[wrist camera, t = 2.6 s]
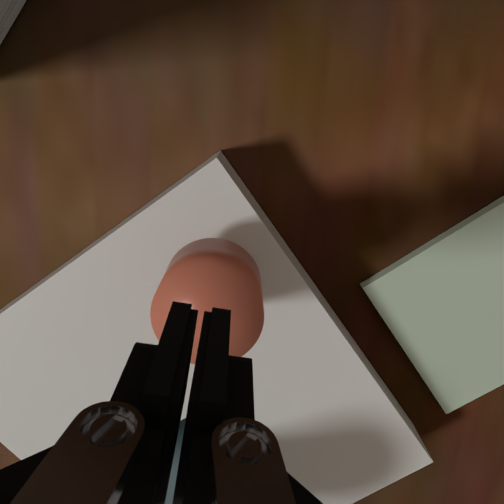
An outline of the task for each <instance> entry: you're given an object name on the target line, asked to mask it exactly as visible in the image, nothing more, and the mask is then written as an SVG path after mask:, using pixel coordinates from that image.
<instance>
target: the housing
mask: <svg viewBox="0 0 504 504" xmlns="http://www.w3.org/2000/svg"><path fill="white" fill-rule="evenodd" d="M204 238H220V239H225V240H228V241H231V242H234V243H235V244H237V245H239V246H241V247H242V248H244V249H245V250H246V251H247V252H248V253H249V254H250V255H251V256H252V258H253V259H254V261H255V262H256V264H257V266H258V269H259V272H260V277H261V286H262V296H263V306H264V324H263V329H262V332H261V334H260V337H259V339H258V340H257V342H256V343H255V345H254V346H253V347H252V348H251V349H250V350H249V351H248V352H247V353H246V354H244V355H243V356H242V357H246V358H252V364H253V389H254V415H255V420H256V421H259V422H261V423H262V424H264V425H265V426H267V427H268V428H269V429H270V430H271V431H272V432H273V433H274V435H275V437H276V439H277V441H278V443H279V447H280V450H281V454H282V457H283V460H284V464H285V467H286V471H287V472H288V473H289V474H290V475H291V476H292V477H294V478H295V479H296V480H297V481H298V482H299V483H300V484H301V485H303V486H304V487H305V488H306V489H307V490H308V491H309V492H311V493H312V494H313V495H314V496H315V497H316V498H317V499H318V500H320V501H321V502H322V503H323V504H352V503H354V502H356V501H358V500H360V499H362V498H364V497H366V496H368V495H370V494H372V493H374V492H376V491H378V490H380V489H382V488H384V487H385V486H387V485H389V484H391V483H393V482H395V481H397V480H399V479H401V478H403V477H405V476H407V475H409V474H411V473H413V472H415V471H417V470H419V469H421V468H423V467H425V466H427V465H429V464H430V463H432V462H433V461H432V459H431V457H430V455H429V453H428V451H427V449H426V447H425V446H424V444H423V442H422V440H421V438H420V436H419V434H418V432H417V430H416V429H415V427H414V425H413V423H412V422H411V420H410V419H409V417H408V416H407V414H406V413H405V412H404V410H403V409H402V407H401V406H400V405H399V403H398V402H397V400H396V399H395V397H394V396H393V395H392V393H391V392H390V390H389V389H388V388H387V386H386V385H385V383H384V382H383V380H382V379H381V378H380V376H379V375H378V373H377V372H376V370H375V369H374V368H373V366H372V365H371V363H370V362H369V361H368V359H367V358H366V356H365V355H364V353H363V352H362V351H361V349H360V348H359V346H358V345H357V343H356V342H355V341H354V339H353V338H352V336H351V335H350V334H349V332H348V331H347V329H346V328H345V326H344V325H343V324H342V322H341V321H340V319H339V318H338V316H337V315H336V314H335V312H334V311H333V309H332V308H331V307H330V305H329V304H328V302H327V301H326V299H325V298H324V297H323V295H322V294H321V292H320V291H319V290H318V288H317V287H316V285H315V284H314V282H313V281H312V280H311V278H310V277H309V275H308V274H307V272H306V271H305V270H304V268H303V267H302V265H301V264H300V263H299V261H298V260H297V258H296V257H295V255H294V254H293V253H292V251H291V250H290V248H289V247H288V245H287V244H286V243H285V241H284V240H283V238H282V237H281V236H280V234H279V233H278V231H277V230H276V228H275V227H274V226H273V224H272V223H271V221H270V220H269V219H268V217H267V216H266V214H265V213H264V211H263V210H262V209H261V207H260V206H259V204H258V203H257V201H256V200H255V199H254V197H253V196H252V194H251V193H250V192H249V190H248V189H247V187H246V186H245V184H244V183H243V182H242V180H241V179H240V177H239V176H238V174H237V173H236V172H235V170H234V169H233V167H232V166H231V165H230V163H229V162H228V160H227V159H226V157H225V156H224V155H223V153H222V152H221V150H220V151H219V152H217V153H216V154H215V155H213V156H212V157H211V158H209V159H208V160H206V161H205V162H204V163H202V164H201V165H200V166H198V167H197V168H195V169H194V170H193V171H191V172H190V173H188V174H187V175H186V176H184V177H183V178H182V179H180V180H179V181H177V182H176V183H175V184H173V185H172V186H171V187H169V188H168V189H166V190H165V191H164V192H162V193H161V194H159V195H158V196H157V197H155V198H154V199H153V200H151V201H150V202H148V203H147V204H146V205H144V206H143V207H142V208H140V209H139V210H137V211H136V212H135V213H133V214H132V215H131V216H129V217H128V218H126V219H125V220H124V221H122V222H121V223H119V224H118V225H117V226H115V227H114V228H113V229H111V230H110V231H108V232H107V233H106V234H104V235H103V236H102V237H100V238H99V239H97V240H96V241H95V242H93V243H92V244H90V245H89V246H88V247H86V248H85V249H84V250H82V251H81V252H79V253H78V254H77V255H75V256H74V257H73V258H71V259H70V260H68V261H67V262H66V263H64V264H63V265H61V266H60V267H59V268H57V269H56V270H55V271H53V272H52V273H50V274H49V275H48V276H46V277H45V278H44V279H42V280H41V281H39V282H38V283H37V284H35V285H34V286H33V287H31V288H30V289H28V290H27V291H26V292H24V293H23V294H21V295H20V296H19V297H17V298H16V299H15V300H13V301H12V302H10V303H9V304H8V305H6V306H5V307H4V308H2V309H1V310H0V442H1V443H2V444H3V445H4V446H6V447H7V448H8V449H9V450H10V451H11V452H12V453H14V454H15V455H16V456H17V457H18V458H19V459H20V460H23V459H25V458H27V457H29V456H32V455H34V454H36V453H38V452H40V451H43V450H45V449H47V448H49V447H51V446H54V445H55V443H56V442H57V441H58V439H59V438H60V437H61V435H62V434H63V433H64V431H65V430H66V429H67V427H68V426H69V425H70V423H71V422H72V421H73V419H74V418H75V417H76V416H77V415H78V414H79V413H80V412H81V411H82V410H83V409H85V408H87V407H89V406H91V405H93V404H96V403H100V402H105V401H110V399H111V397H112V395H113V392H114V390H115V388H116V386H117V383H118V381H119V379H120V376H121V374H122V372H123V369H124V367H125V365H126V363H127V360H128V358H129V356H130V353H131V351H132V349H133V346H134V345H135V343H136V342H139V343H146V344H153V345H158V343H159V341H158V339H157V337H156V335H155V333H154V331H153V328H152V324H151V318H150V309H151V303H152V300H153V297H154V295H155V293H156V290H157V288H158V286H159V284H160V282H161V280H162V278H163V276H164V274H165V271H166V269H167V267H168V265H169V263H170V261H171V259H172V258H173V257H174V255H175V254H176V253H177V252H178V251H179V250H180V249H181V248H183V247H184V246H185V245H187V244H189V243H191V242H193V241H196V240H199V239H204ZM194 367H195V364H191V363H190V368H189V375H188V381H187V388H186V394H185V400H184V405H183V410H182V415H181V420H183V419H184V418H186V414H187V408H188V402H189V396H190V390H191V384H192V378H193V373H194Z"/></svg>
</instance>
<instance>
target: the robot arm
mask: <svg viewBox="0 0 504 504" xmlns="http://www.w3.org/2000/svg"><path fill="white" fill-rule="evenodd" d="M191 307H192V304H188V303H181V302H175V301H173V302H172V305H171V308H170V311H169V314H168V317H167V320H166V323H165V326H164V329H163V331H162V334H161V337H160V340H159V343H158V345H153V344H146V343H139V342H136V343H135V345H134V346H133V349H132V351H131V353H130V356H129V358H128V360H127V363H126V365H125V367H124V369H123V372H122V374H121V376H120V379H119V381H118V383H117V386H116V388H115V390H114V392H113V395H112V397H111V399H110V401H105V402H100V403H96V404H93V405H91V406H89V407H87V408H85V409H83V410H82V411H81V412H80V413H79V414H78V415H77V416H76V417H75V418H74V419H73V421H72V422H71V423H70V425H69V426H68V427H67V429H66V430H65V431H64V433H63V434H62V435H61V437H60V438H59V439H58V441H57V442H56V443H55V445H54V446H51V447H49V448H47V449H45V450H43V451H40V452H38V453H36V454H34V455H32V456H29V457H27V458H25V459H23V460H21V461H18V462H16V463H14V464H12V465H10V466H7V467H5V468H3V469H1V470H0V504H165V500H166V494H167V489H168V484H169V479H170V473H171V468H172V463H173V458H174V452H175V447H176V442H177V436H178V431H179V426H180V421H181V415H182V410H183V405H184V400H185V394H186V388H187V381H188V375H189V368H190V362H191V355H192V349H193V342H194V336H195V329H196V323H197V316H198V310H194V309H191ZM230 322H231V310H228V309H221V308H215V307H212V312H208V311H204V316H203V322H202V327H201V333H200V339H199V344H198V350H197V356H196V361H195V367H194V373H193V378H192V384H191V390H190V396H189V402H188V408H187V414H186V420H185V427H184V433H183V439H182V446H181V452H180V458H179V465H178V471H177V477H176V484H175V490H174V497H173V503H172V504H323V503H322V502H321V501H320V500H318V499H317V498H316V497H315V496H314V495H313V494H312V493H311V492H309V491H308V490H307V489H306V488H305V487H304V486H303V485H301V484H300V483H299V482H298V481H297V480H296V479H295V478H294V477H292V476H291V475H290V474H289V473H288V472H287V471H286V467H285V464H284V460H283V457H282V454H281V450H280V447H279V443H278V441H277V439H276V437H275V435H274V433H273V432H272V431H271V430H270V429H269V428H268V427H267V426H265V425H264V424H262V423H261V422H259V421H256V420H255V415H254V389H253V364H252V358H246V357H239V356H232V355H229V341H230Z"/></svg>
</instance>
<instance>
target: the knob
mask: <svg viewBox="0 0 504 504" xmlns="http://www.w3.org/2000/svg"><path fill="white" fill-rule="evenodd" d="M173 301H175V302H181V303H188V304H192V307H191V309H194V310H198V316H197V323H196V329H195V336H194V342H193V349H192V355H191V362H190V363H191V364H195V361H196V356H197V350H198V344H199V339H200V333H201V327H202V322H203V316H204V311H208V312H212V307H215V308H221V309H228V310H231V322H230V341H229V355H232V356H239V357H242V356H243V355H244V354H246V353H247V352H248V351H249V350H250V349H251V348H252V347H253V346H254V345H255V343H256V342H257V340H258V339H259V337H260V334H261V332H262V329H263V324H264V306H263V296H262V286H261V277H260V272H259V269H258V266H257V264H256V262H255V261H254V259H253V258H252V256H251V255H250V254H249V253H248V252H247V251H246V250H245V249H244V248H242V247H241V246H239V245H237V244H235V243H234V242H231V241H228V240H225V239H220V238H204V239H199V240H196V241H193V242H191V243H189V244H187V245H185V246H184V247H183V248H181V249H180V250H179V251H178V252H177V253H176V254H175V255H174V257H173V258H172V259H171V261H170V263H169V265H168V267H167V269H166V271H165V274H164V276H163V278H162V280H161V282H160V284H159V286H158V288H157V290H156V293H155V295H154V297H153V300H152V303H151V309H150V318H151V324H152V328H153V331H154V333H155V335H156V337H157V339H158V341H159V340H160V337H161V334H162V331H163V329H164V326H165V323H166V320H167V317H168V314H169V311H170V308H171V305H172V302H173Z"/></svg>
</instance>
